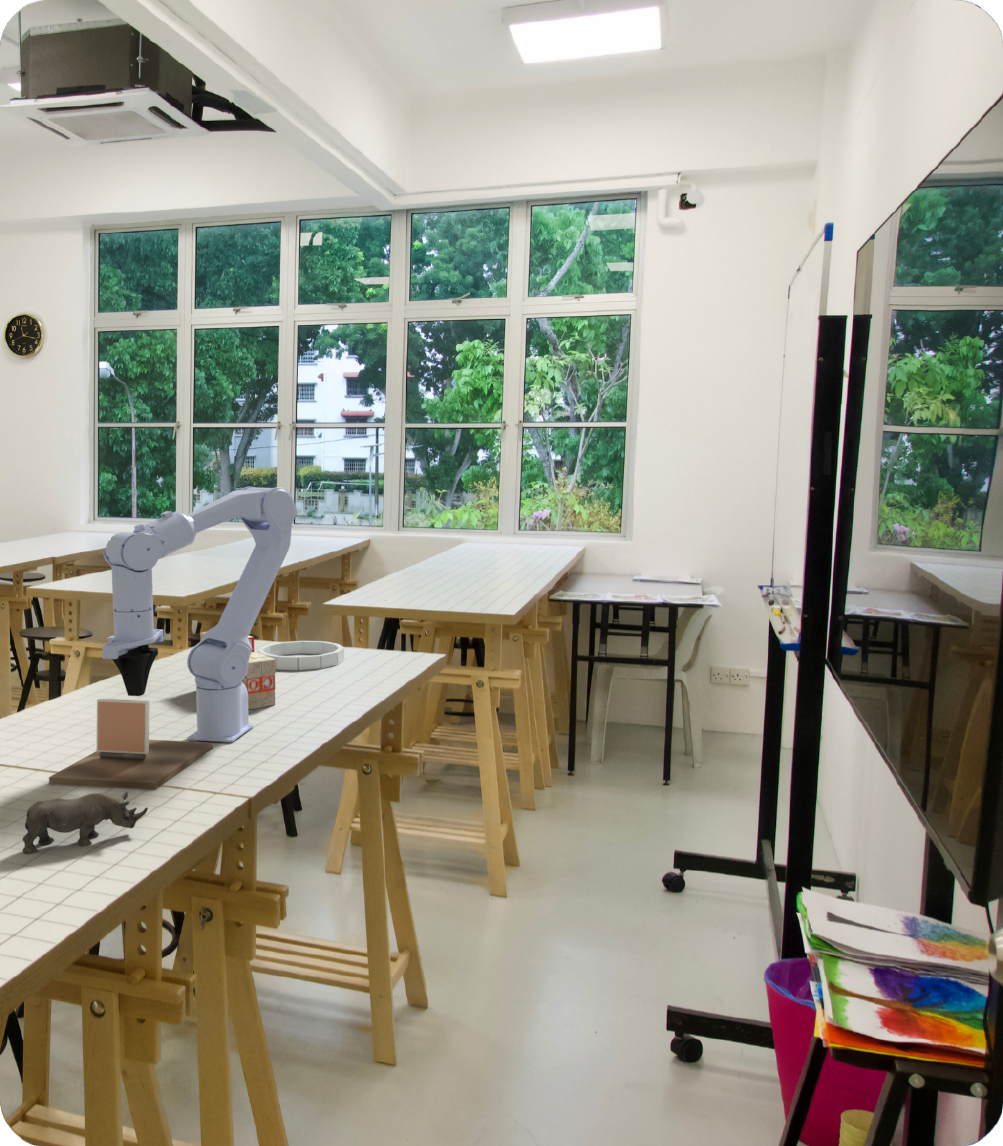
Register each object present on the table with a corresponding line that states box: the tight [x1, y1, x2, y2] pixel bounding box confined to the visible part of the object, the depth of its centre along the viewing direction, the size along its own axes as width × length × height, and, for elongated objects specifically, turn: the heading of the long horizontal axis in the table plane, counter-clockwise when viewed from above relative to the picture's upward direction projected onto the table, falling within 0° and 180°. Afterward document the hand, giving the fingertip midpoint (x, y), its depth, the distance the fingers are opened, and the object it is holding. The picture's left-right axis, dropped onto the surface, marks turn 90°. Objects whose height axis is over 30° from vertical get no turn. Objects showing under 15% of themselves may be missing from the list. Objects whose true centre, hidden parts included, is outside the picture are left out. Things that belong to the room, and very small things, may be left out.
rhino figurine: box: [21, 791, 149, 855], centre depth 103 cm, size 4×14×6 cm, turn 114°
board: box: [48, 739, 214, 791], centre depth 130 cm, size 18×16×2 cm
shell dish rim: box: [257, 640, 345, 671], centre depth 204 cm, size 20×20×3 cm
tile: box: [95, 698, 150, 754], centre depth 130 cm, size 8×8×1 cm
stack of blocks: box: [199, 631, 277, 711], centre depth 171 cm, size 21×6×12 cm, turn 42°
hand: (136, 694), depth 134 cm, fingers closed
